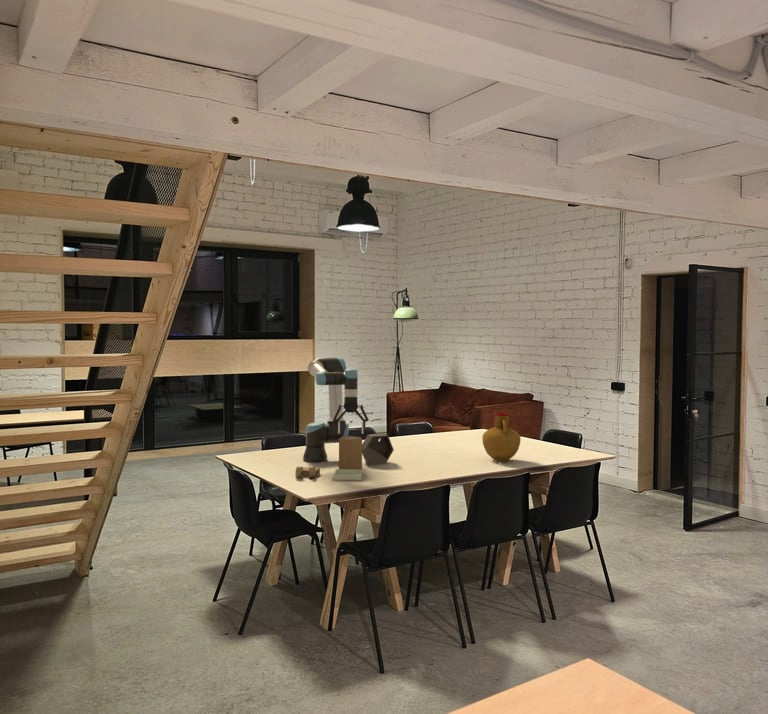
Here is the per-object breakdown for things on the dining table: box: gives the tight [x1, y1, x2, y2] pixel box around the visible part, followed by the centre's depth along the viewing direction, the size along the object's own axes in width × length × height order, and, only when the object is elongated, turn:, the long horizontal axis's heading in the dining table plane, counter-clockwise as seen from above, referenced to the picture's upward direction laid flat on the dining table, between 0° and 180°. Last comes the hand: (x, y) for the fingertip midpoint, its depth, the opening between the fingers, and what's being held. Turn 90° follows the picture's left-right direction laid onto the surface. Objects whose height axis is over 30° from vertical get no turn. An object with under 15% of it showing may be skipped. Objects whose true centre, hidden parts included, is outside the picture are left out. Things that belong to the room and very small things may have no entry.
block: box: [338, 435, 363, 470], centre depth 381 cm, size 10×10×20 cm
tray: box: [332, 468, 364, 482], centre depth 366 cm, size 15×15×3 cm
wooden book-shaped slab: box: [302, 466, 321, 478], centre depth 372 cm, size 8×12×4 cm, turn 83°
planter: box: [362, 433, 395, 466], centre depth 407 cm, size 17×8×21 cm
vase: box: [481, 412, 521, 463], centre depth 419 cm, size 24×24×30 cm
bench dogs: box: [295, 466, 317, 480], centre depth 364 cm, size 4×11×6 cm, turn 88°
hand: (350, 433), depth 380 cm, fingers open, 13 cm apart
